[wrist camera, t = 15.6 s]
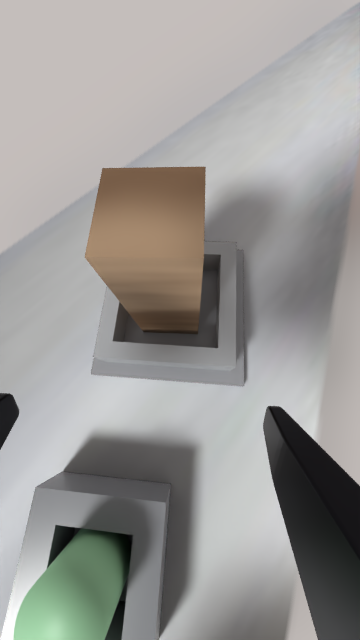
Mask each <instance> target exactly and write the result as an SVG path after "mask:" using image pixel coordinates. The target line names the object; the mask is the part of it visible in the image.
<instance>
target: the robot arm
mask: <svg viewBox="0 0 360 640" xmlns="http://www.w3.org/2000/svg"><path fill="white" fill-rule="evenodd" d="M18 415H19V408H18V406H17V404H16V402H15V399H14V397H13V395H11V394H7V393H0V449H1V447H2V446H3V444H4V442H5V440H6V438H7V436H8V434H9V433H10V431H11V429H12V427H13V425H14V423H15V421H16V420H17V418H18ZM263 429H264V435H265V441H266V446H267V452H268V458H269V463H270V469H271V474H272V479H273V483H274V487H275V490H276V494H277V497H278V501H279V504H280V508H281V511H282V515H283V518H284V522H285V525H286V529H287V532H288V536H289V539H290V543H291V546H292V550H293V553H294V557H295V560H296V564H297V567H298V571H299V574H300V578H301V581H302V585H303V589H304V592H305V596H306V599H307V602H308V606H309V610H310V613H311V617H312V620H313V624H314V627H315V631H316V634H317V637H318V640H360V486H359V485H358V484H357V483H356V482H355V481H354V480H353V479H352V478H351V477H350V476H349V475H348V474H347V473H346V472H345V471H344V470H343V469H342V468H341V467H340V466H339V465H338V464H337V463H336V462H335V461H334V460H333V459H332V458H331V457H330V456H329V455H328V454H327V453H326V452H325V451H324V450H323V449H322V448H321V447H320V446H319V445H318V444H317V443H316V442H315V441H314V440H313V439H312V438H311V437H310V436H309V435H308V434H307V433H306V432H305V431H304V430H303V429H302V428H301V427H300V426H299V425H298V424H297V423H296V422H295V421H294V420H293V419H292V418H291V417H290V416H289V415H288V414H287V413H286V412H285V411H284V410H283V409H282V408H281V407H279V406H268V407H267V409H266V414H265V418H264V423H263Z"/></svg>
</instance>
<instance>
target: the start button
mask: <svg viewBox="0 0 360 640" xmlns="http://www.w3.org/2000/svg"><path fill="white" fill-rule="evenodd" d="M130 560H131V546H130V542H129V539H128V537H127V535H126V534H122V533H114V532H107V531H99V530H91V529H83V528H81V529H80V530H79V531H78V533H77V534H76V535H75V536H74V537H73V539H72V540H71V541H70V542H69V543H68V544H67V546H66V547H65V548H64V549H63V550H62V552H61V553H60V554H59V555H58V556H57V558H56V559H55V560H54V561H53V562H52V563H51V565H50V566H49V567H48V568H47V569H46V571H45V572H44V573H43V574H42V575H41V576H40V578H39V579H38V580H37V581H36V582H35V584H34V585H33V586H32V587H31V589H30V590H29V591H28V593H27V594H26V596H25V598H24V599H23V601H22V603H21V606H20V608H19V611H18V614H17V618H16V621H15V627H14V637H13V640H105V637H106V635H107V632H108V629H109V626H110V624H111V621H112V618H113V615H114V613H115V610H116V607H117V604H118V602H119V599H120V596H121V593H122V591H123V588H124V585H125V582H126V579H127V577H128V574H129V569H130Z"/></svg>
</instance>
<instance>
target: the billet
mask: <svg viewBox="0 0 360 640" xmlns="http://www.w3.org/2000/svg"><path fill="white" fill-rule="evenodd" d="M205 168H206V167H156V168H103V169H102V174H101V179H100V184H99V189H98V194H97V199H96V204H95V208H94V213H93V218H92V223H91V228H90V233H89V238H88V243H87V248H86V253H85V258H86V259H87V261H88V262H89V263H90V264H91V266H92V267H93V268H94V270H95V271H96V272H97V273H98V275H99V276H100V277H101V279H102V280H103V281H104V282H105V284H106V285H107V286H108V287H109V289H110V290H111V291H112V293H113V294H114V295H115V296H116V298H117V299H118V300H119V301H120V303H121V304H122V305H123V307H124V308H125V309H126V310H127V312H128V313H129V314H130V315H131V317H132V318H133V319H134V321H135V322H136V323H137V324H138V326H139V327H140V328H141V330H142V331H143V332H149V333H180V334H198V327H199V314H200V301H201V288H202V275H203V262H204V221H205Z"/></svg>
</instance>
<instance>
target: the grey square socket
mask: <svg viewBox="0 0 360 640" xmlns="http://www.w3.org/2000/svg"><path fill="white" fill-rule="evenodd" d="M93 357H94V359H93V365H92V370H91V374H92V375H102V376H115V377H128V378H141V379H154V380H167V381H180V382H193V383H205V384H218V385H231V386H244V296H243V250H236V242H215V241H204V262H203V275H202V288H201V301H200V314H199V327H198V334H180V333H149V332H143V331H142V330H141V328H140V327H139V326H138V324H137V323H136V322H135V321H134V319H133V318H132V317H131V315H130V314H129V313H128V312H127V310H126V309H125V308H124V307H123V305H122V304H121V303H120V301H119V300H118V299H117V298H116V296H115V295H114V294H113V293H112V291H111V290H110V289H109V287H108V286H107V287H106V292H105V298H104V303H103V308H102V313H101V318H100V323H99V329H98V334H97V339H96V344H95V349H94V355H93Z"/></svg>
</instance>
